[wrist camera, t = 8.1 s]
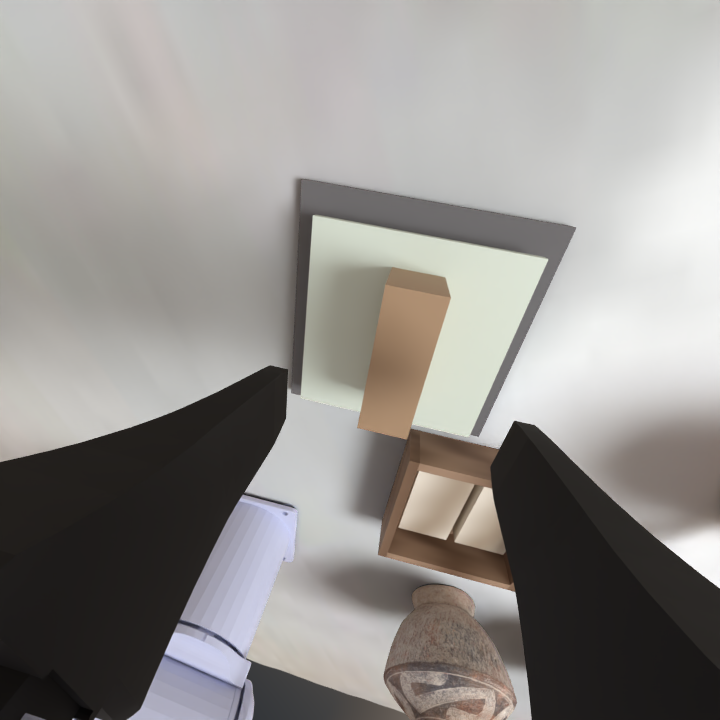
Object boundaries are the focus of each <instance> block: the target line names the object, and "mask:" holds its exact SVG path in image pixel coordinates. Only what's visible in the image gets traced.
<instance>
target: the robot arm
mask: <svg viewBox="0 0 720 720" xmlns="http://www.w3.org/2000/svg"><path fill="white" fill-rule="evenodd" d="M287 381H288V369H283V368H279V367H274V366H268V367H266V368H264V369H261V370H260V371H258V372H256V373H254V374H252V375H250V376H248V377H246V378H244V379H242V380H240V381H238V382H236V383H234V384H232V385H230V386H228V387H226V388H224V389H223V390H221V391H219V392H217V393H214V394H212V395H210V396H208V397H206V398H203V399H201V400H199V401H197V402H195V403H192V404H190V405H188V406H186V407H184V408H181V409H179V410H177V411H174V412H172V413H169V414H167V415H164V416H162V417H159V418H156V419H153V420H151V421H148V422H145V423H142V424H140V425H137V426H134V427H131V428H128V429H124V430H121V431H118V432H114V433H111V434H108V435H105V436H101V437H98V438H95V439H92V440H88V441H85V442H81V443H78V444H74V445H70V446H66V447H62V448H59V449H55V450H51V451H47V452H43V453H38V454H34V455H30V456H26V457H21V458H17V459H12V460H8V461H3V462H0V720H252V717H253V711H254V697H253V686H252V683H251V681H250V680H247V679H246V677H247V674H248V671H249V669H250V665H251V662H250V661H248V660H246V657H247V654H248V651H249V649H250V646H251V643H252V641H253V638H254V635H255V633H256V630H257V627H258V625H259V622H260V619H261V617H262V614H263V611H264V609H265V606H266V603H267V601H268V598H269V595H270V593H271V590H272V587H273V585H274V582H275V579H276V577H277V574H278V571H279V569H280V566H281V563H282V561H286V562H292V561H293V559H294V552H295V539H296V527H297V514H298V512H297V510H296V509H295V508H292V507H288V506H284V505H281V504H277V503H273V502H269V501H265V500H261V499H258V498H254V497H250V496H246V495H243V493H244V492H245V490H246V489H247V487H248V485H249V484H250V482H251V481H252V479H253V478H254V476H255V474H256V473H257V471H258V470H259V468H260V466H261V465H262V463H263V462H264V460H265V458H266V457H267V455H268V453H269V452H270V450H271V449H272V447H273V445H274V443H275V441H276V439H277V437H278V435H279V433H280V431H281V428H282V426H283V424H284V422H285V419H286V406H287ZM490 471H491V483H492V492H493V499H494V504H495V508H496V512H497V517H498V521H499V525H500V529H501V533H502V537H503V541H504V545H505V549H506V553H507V557H508V561H509V565H510V570H511V574H512V578H513V583H514V587H515V592H516V597H517V604H518V611H519V617H520V624H521V631H522V638H523V645H524V653H525V661H526V669H527V678H528V686H529V695H530V706H531V716H532V720H720V588H718V587H717V586H715V585H714V584H713V583H712V582H710V581H709V580H708V579H706V578H705V577H704V576H702V575H701V574H700V573H699V572H697V571H696V570H695V569H693V568H692V567H691V566H690V565H688V564H687V563H686V562H685V561H683V560H682V559H681V558H680V557H679V556H677V555H676V554H675V553H674V552H672V551H671V550H670V549H669V548H667V547H666V546H665V545H664V544H663V543H661V542H660V541H659V540H658V539H656V538H655V537H654V536H653V535H652V534H651V533H649V532H648V531H647V530H646V529H645V528H644V527H642V526H641V525H640V524H639V523H638V522H637V521H636V520H634V519H633V518H632V517H631V516H630V515H629V514H628V513H627V512H626V511H624V510H623V509H622V508H621V507H620V506H619V505H618V504H617V503H616V502H614V501H613V500H612V499H611V498H610V497H609V496H608V495H607V494H606V493H605V492H604V491H603V490H602V489H601V488H600V487H598V486H597V485H596V484H595V483H594V482H593V481H592V480H591V479H590V478H589V477H588V476H587V475H586V474H585V473H584V472H583V471H582V470H581V469H580V468H579V467H578V466H577V465H576V464H575V463H574V462H573V461H572V460H571V459H570V458H569V457H568V456H567V455H566V454H565V453H564V452H563V451H562V450H561V449H560V448H559V447H558V446H557V445H556V444H555V443H554V442H553V441H552V440H550V439H549V438H548V437H547V436H546V435H545V434H544V433H543V432H542V431H541V430H540V429H539V428H537V427H536V426H535V425H531V424H527V423H522V422H518V421H514V422H513V424H512V426H511V428H510V430H509V432H508V434H507V436H506V438H505V440H504V441H503V443H502V445H501V447H500V449H499V451H498V453H497V455H496V457H495V459H494V461H493V462H492V464H491V466H490Z"/></svg>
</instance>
